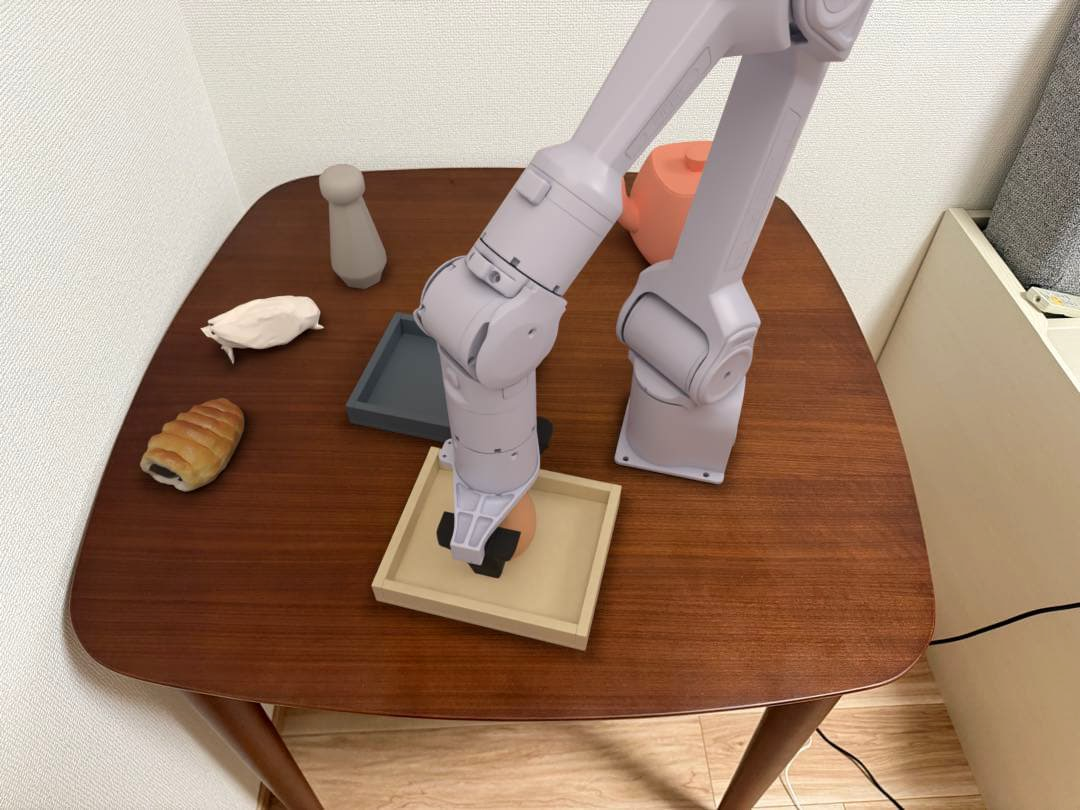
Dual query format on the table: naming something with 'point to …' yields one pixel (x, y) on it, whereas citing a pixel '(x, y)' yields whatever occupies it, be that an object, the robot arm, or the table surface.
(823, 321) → the table surface
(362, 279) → the salt shaker
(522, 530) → the egg
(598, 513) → the ivory tray
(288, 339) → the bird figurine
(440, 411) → the slate tray
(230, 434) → the pastry
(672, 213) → the teapot
